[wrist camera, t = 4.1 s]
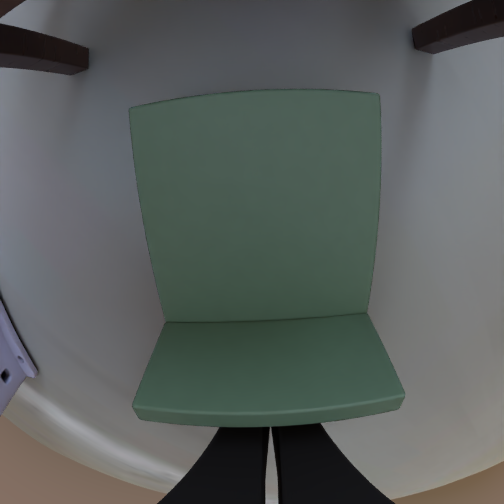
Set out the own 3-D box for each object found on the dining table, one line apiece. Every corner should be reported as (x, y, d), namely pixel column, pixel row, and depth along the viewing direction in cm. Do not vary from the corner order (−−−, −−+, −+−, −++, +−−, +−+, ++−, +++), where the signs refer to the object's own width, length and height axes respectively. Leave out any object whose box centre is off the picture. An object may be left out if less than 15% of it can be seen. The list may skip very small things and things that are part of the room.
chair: (339, 289, 10) (392, 424, 5) (192, 295, 10) (146, 433, 5) (342, 102, 7) (464, 78, 2) (167, 112, 7) (41, 103, 2)
